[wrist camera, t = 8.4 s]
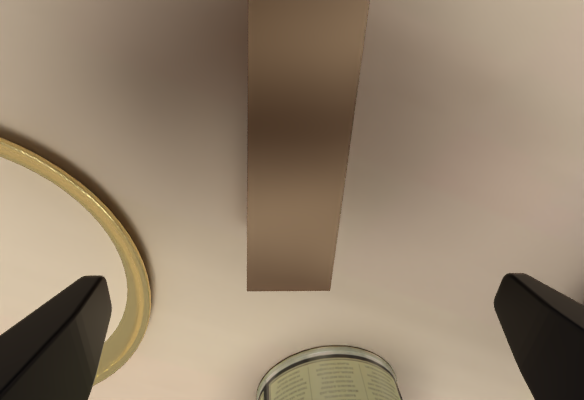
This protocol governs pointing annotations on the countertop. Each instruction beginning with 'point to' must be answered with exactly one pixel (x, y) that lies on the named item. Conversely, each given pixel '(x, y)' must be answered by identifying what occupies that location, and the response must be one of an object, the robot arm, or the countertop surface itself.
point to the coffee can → (330, 376)
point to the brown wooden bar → (299, 136)
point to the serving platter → (134, 315)
